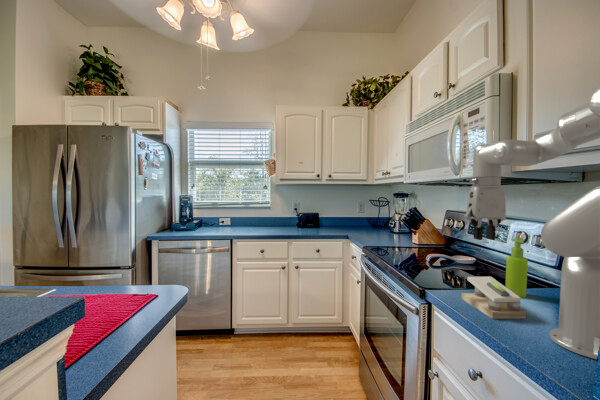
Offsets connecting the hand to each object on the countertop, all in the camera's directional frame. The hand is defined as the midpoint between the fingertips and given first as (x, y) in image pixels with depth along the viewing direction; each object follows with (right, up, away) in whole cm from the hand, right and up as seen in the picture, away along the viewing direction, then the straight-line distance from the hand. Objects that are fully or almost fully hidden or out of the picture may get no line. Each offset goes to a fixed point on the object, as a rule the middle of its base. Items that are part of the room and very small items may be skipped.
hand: (484, 238), depth 88 cm
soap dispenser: (+17, -21, +8) cm, 28 cm away
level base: (0, -21, -3) cm, 22 cm away
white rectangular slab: (0, -16, -4) cm, 16 cm away
